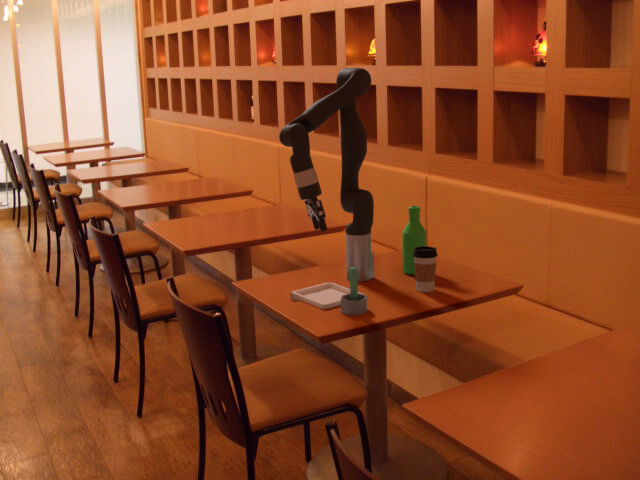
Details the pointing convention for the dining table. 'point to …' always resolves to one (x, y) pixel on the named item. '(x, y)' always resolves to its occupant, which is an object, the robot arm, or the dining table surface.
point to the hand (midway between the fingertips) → (321, 229)
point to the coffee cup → (425, 267)
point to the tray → (321, 295)
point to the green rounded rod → (353, 284)
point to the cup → (354, 305)
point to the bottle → (412, 239)
